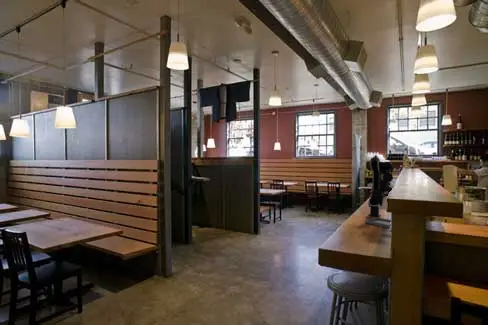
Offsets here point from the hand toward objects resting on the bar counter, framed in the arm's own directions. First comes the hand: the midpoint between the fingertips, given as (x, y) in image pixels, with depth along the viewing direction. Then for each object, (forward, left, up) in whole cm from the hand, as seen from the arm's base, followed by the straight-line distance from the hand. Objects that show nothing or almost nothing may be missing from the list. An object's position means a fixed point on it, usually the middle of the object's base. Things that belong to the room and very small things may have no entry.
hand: (382, 205), depth 197 cm
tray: (0, 0, -12) cm, 12 cm away
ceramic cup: (0, 0, -2) cm, 2 cm away
